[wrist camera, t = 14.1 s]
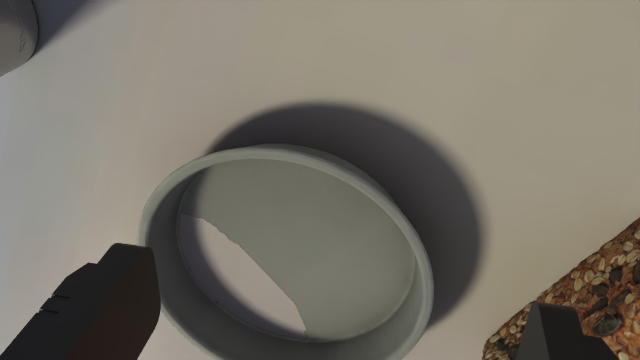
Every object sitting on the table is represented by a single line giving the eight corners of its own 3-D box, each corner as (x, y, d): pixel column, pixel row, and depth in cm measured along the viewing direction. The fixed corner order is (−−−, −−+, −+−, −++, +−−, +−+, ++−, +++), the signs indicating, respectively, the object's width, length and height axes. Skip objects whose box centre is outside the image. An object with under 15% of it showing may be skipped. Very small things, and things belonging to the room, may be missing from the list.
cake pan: (166, 85, 45) (139, 109, 41) (478, 172, 43) (480, 205, 40) (151, 309, 58) (130, 342, 54) (390, 381, 57) (386, 420, 53)
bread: (562, 395, 53) (583, 502, 45) (471, 335, 51) (475, 433, 43) (752, 278, 43) (824, 385, 35) (646, 199, 42) (695, 292, 33)
